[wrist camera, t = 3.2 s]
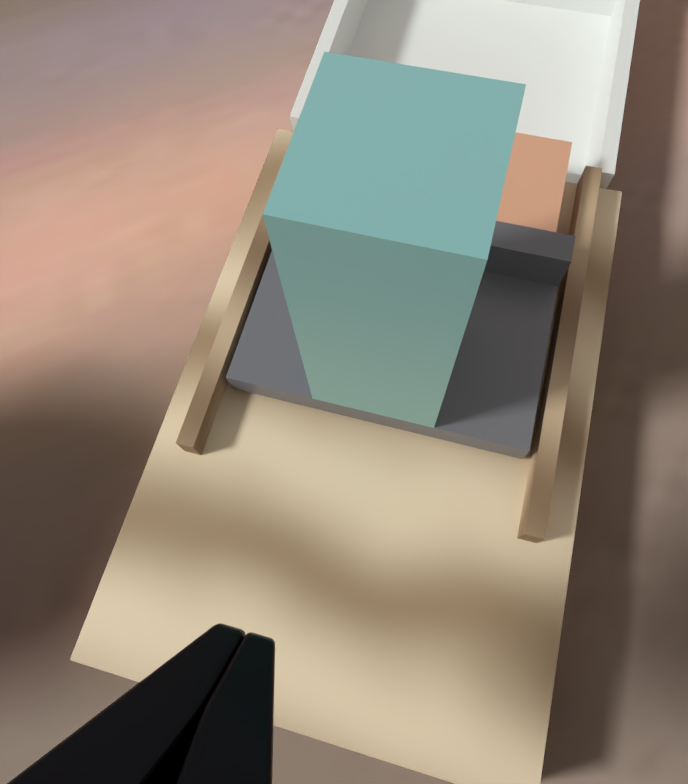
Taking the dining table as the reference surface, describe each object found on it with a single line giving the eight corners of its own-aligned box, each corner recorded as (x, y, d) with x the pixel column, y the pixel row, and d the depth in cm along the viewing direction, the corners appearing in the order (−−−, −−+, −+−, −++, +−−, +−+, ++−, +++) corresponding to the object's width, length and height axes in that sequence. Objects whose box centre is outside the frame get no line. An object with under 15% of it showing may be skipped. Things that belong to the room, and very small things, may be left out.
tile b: (540, 265, 22) (555, 233, 20) (434, 244, 23) (439, 210, 21) (556, 179, 24) (572, 142, 22) (455, 161, 24) (462, 123, 22)
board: (516, 785, 19) (546, 821, 15) (103, 655, 21) (53, 661, 17) (599, 230, 26) (632, 173, 22) (285, 170, 27) (273, 110, 24)
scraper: (521, 459, 20) (671, 297, 10) (232, 388, 21) (107, 182, 11) (553, 276, 22) (701, -2, 12) (291, 223, 23) (231, -67, 13)
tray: (588, 222, 26) (625, 155, 22) (298, 167, 28) (286, 96, 24) (620, 18, 30) (656, -67, 26) (366, -18, 32) (365, -104, 28)
